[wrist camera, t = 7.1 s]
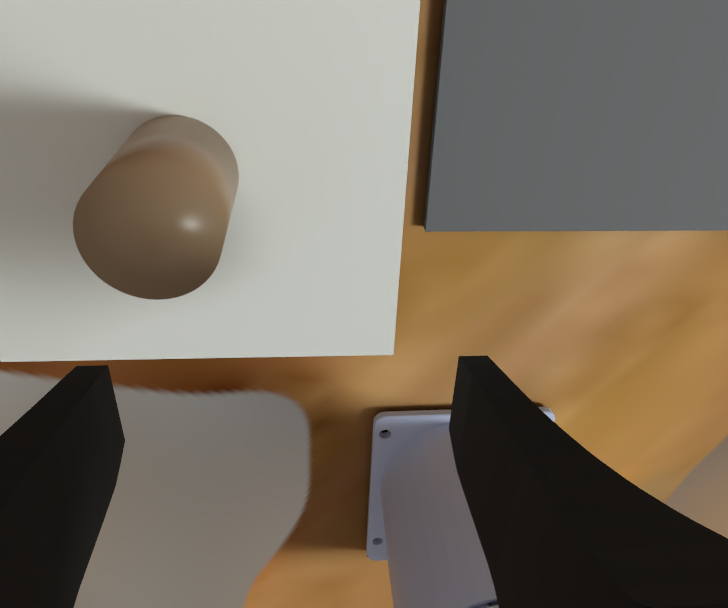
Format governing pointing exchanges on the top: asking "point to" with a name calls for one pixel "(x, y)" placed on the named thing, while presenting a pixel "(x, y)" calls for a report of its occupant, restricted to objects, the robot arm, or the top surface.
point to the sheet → (292, 162)
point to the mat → (580, 116)
